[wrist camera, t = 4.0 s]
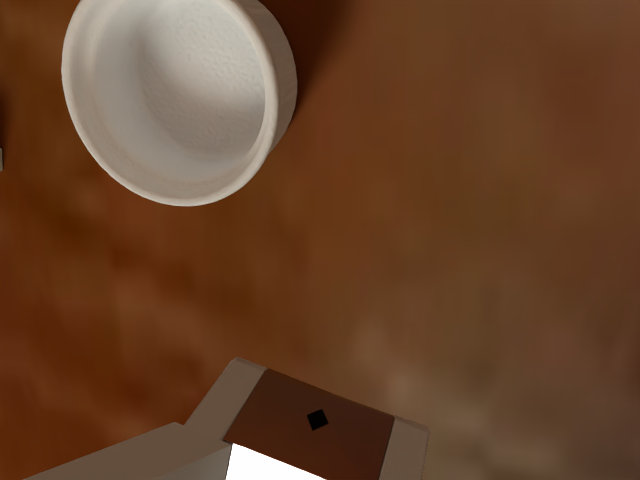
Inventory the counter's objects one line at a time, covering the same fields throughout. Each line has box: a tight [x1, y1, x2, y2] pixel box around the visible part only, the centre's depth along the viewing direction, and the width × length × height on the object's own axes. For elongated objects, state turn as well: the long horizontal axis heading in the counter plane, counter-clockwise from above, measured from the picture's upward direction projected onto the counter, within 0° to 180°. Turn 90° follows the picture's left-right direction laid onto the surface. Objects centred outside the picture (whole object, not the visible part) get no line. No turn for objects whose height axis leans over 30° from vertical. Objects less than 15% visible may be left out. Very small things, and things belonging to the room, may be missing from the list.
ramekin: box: [61, 0, 297, 206], centre depth 24 cm, size 9×9×4 cm
